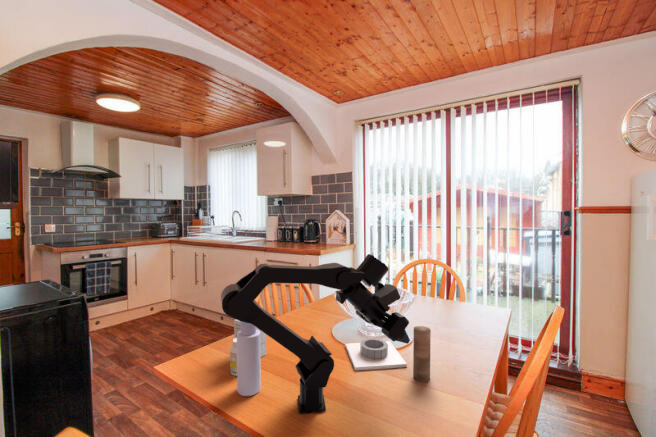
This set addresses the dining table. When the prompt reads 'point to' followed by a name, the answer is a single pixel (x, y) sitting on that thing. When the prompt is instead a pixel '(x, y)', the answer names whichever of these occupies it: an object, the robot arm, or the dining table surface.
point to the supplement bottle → (233, 358)
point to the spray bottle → (248, 360)
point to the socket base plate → (374, 355)
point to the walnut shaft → (421, 353)
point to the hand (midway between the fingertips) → (398, 335)
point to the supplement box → (262, 336)
